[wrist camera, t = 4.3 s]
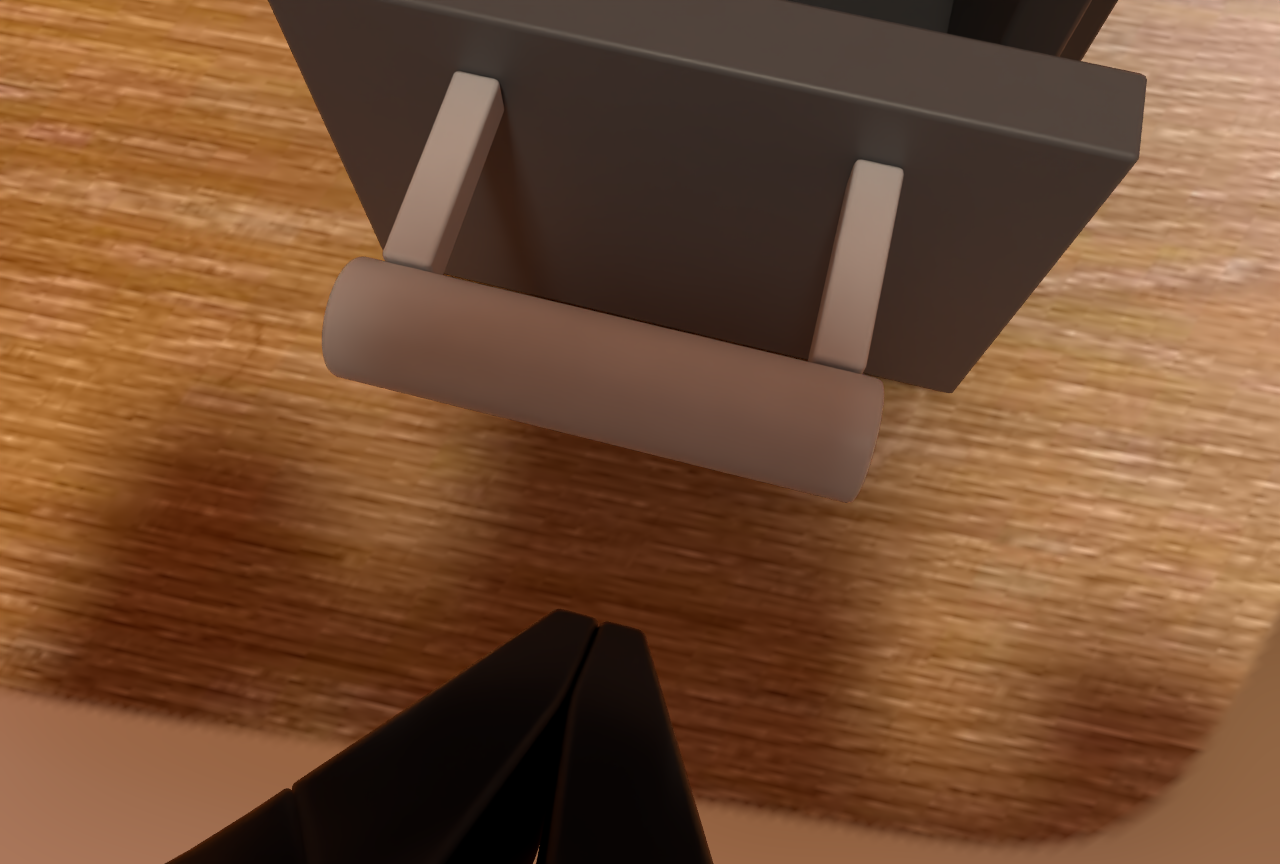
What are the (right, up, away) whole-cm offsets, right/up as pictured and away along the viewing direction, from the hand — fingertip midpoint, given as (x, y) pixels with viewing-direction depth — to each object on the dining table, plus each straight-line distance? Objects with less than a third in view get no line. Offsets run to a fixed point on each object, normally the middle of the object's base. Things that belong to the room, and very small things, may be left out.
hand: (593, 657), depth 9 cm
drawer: (+2, +7, +9) cm, 12 cm away
